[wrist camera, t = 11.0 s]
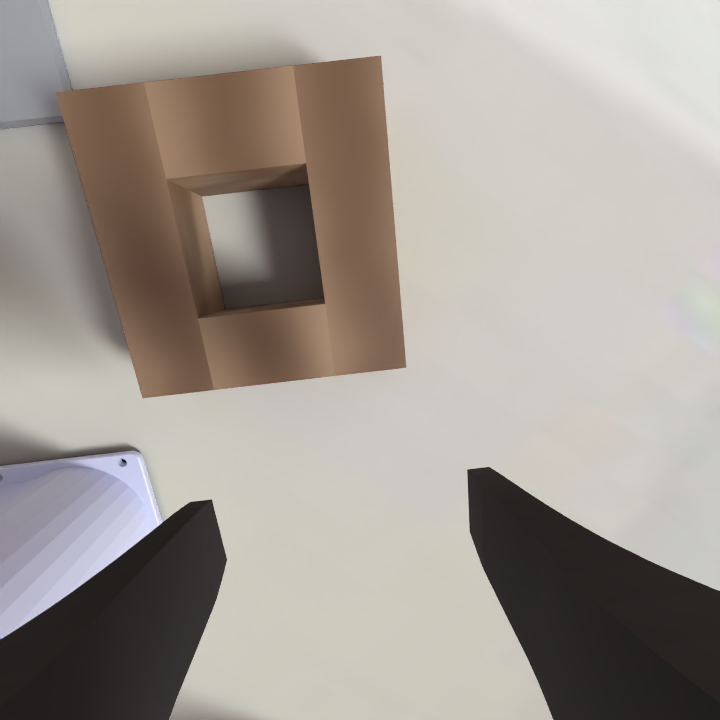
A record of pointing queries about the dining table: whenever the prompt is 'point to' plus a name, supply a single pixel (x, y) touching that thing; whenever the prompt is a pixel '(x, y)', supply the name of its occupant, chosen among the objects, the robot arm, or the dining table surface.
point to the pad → (29, 65)
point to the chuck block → (230, 175)
